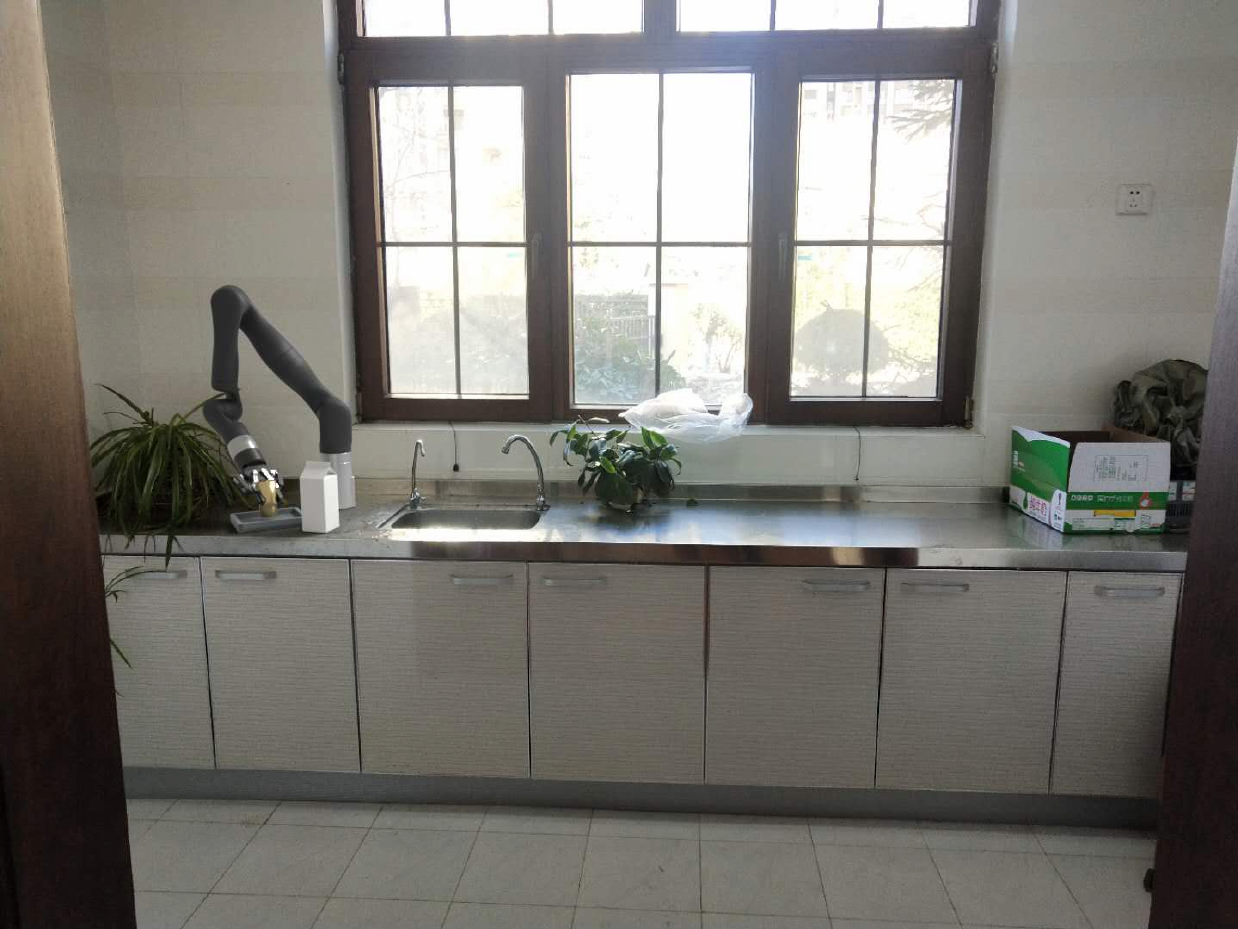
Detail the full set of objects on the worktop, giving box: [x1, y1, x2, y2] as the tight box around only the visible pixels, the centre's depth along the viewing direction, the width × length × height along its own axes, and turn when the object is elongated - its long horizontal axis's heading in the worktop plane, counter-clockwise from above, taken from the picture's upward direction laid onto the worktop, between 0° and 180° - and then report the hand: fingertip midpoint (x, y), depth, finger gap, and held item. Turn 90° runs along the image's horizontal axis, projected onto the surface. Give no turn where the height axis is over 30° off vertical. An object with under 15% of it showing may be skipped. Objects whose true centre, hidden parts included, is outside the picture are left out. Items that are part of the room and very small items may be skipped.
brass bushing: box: [258, 479, 278, 518], centre depth 237 cm, size 5×5×10 cm
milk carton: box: [299, 460, 340, 534], centre depth 232 cm, size 7×7×19 cm
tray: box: [229, 506, 302, 534], centre depth 238 cm, size 18×14×2 cm
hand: (271, 502), depth 236 cm, fingers closed on brass bushing, 4 cm apart
